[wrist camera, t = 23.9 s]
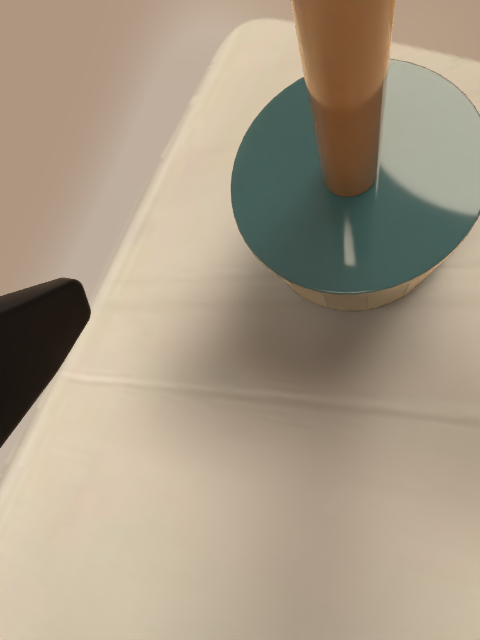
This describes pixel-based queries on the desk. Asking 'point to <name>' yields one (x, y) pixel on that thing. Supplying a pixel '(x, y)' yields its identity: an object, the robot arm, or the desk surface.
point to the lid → (357, 161)
